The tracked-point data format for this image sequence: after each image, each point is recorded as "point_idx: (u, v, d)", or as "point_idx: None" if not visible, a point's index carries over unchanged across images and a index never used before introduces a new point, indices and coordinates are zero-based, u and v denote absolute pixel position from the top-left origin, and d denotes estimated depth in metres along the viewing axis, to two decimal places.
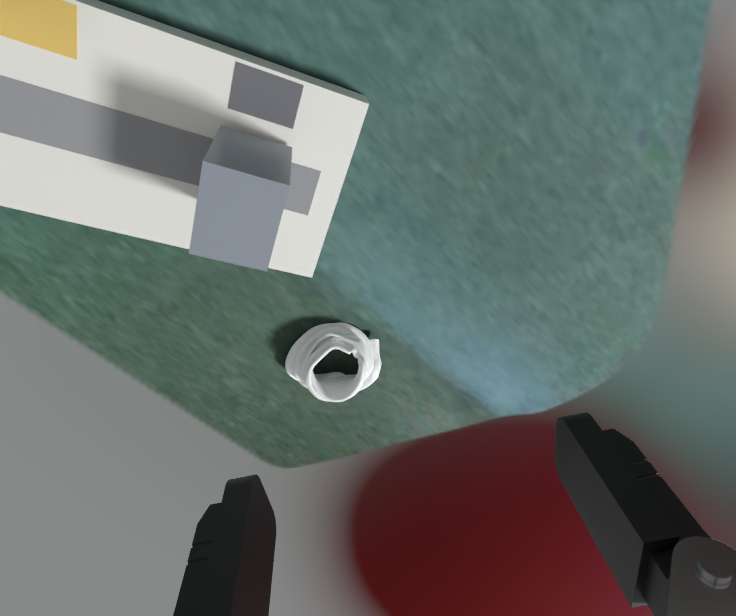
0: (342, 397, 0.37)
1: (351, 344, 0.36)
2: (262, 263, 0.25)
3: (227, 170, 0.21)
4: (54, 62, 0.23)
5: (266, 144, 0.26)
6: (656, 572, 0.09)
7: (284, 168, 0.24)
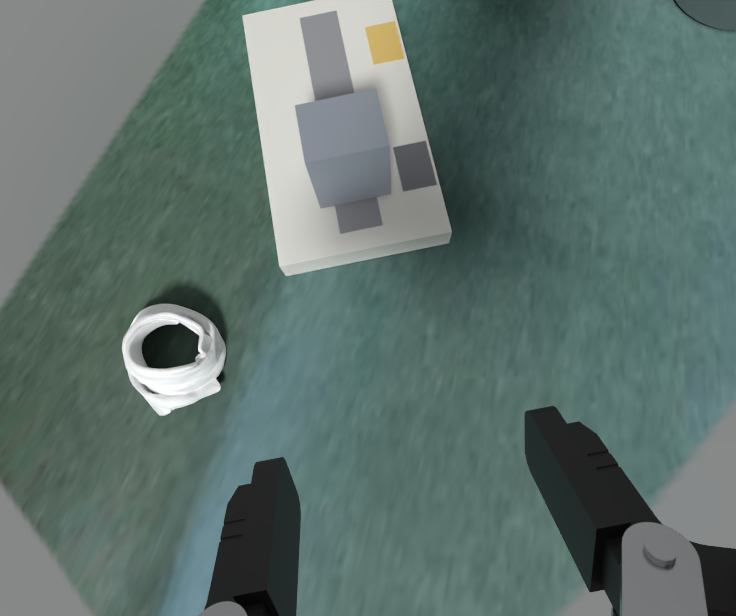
0: (135, 362, 0.29)
1: (209, 349, 0.31)
2: (310, 156, 0.27)
3: (377, 104, 0.28)
4: (364, 55, 0.36)
5: None
6: (609, 557, 0.09)
7: None
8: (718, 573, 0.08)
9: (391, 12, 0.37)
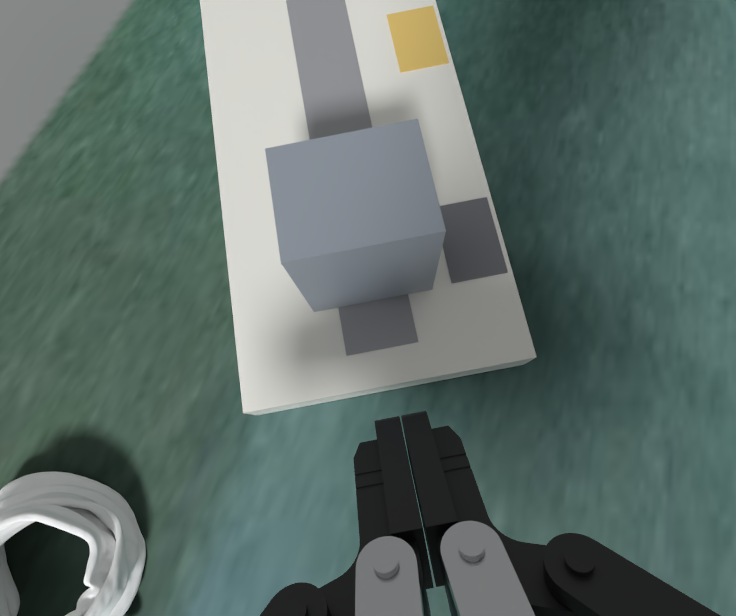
0: None
1: (107, 576, 0.17)
2: (293, 250, 0.14)
3: (421, 148, 0.15)
4: (386, 57, 0.23)
5: None
6: (440, 553, 0.10)
7: None
8: (526, 568, 0.09)
9: None
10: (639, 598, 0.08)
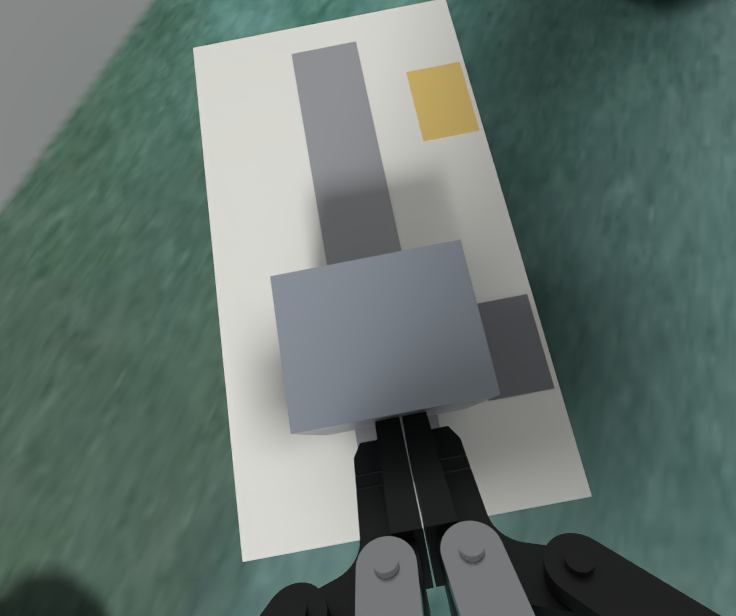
0: None
1: None
2: (306, 416, 0.11)
3: (465, 280, 0.12)
4: (407, 123, 0.20)
5: None
6: (440, 553, 0.10)
7: None
8: (526, 568, 0.09)
9: (452, 46, 0.21)
10: (639, 598, 0.08)
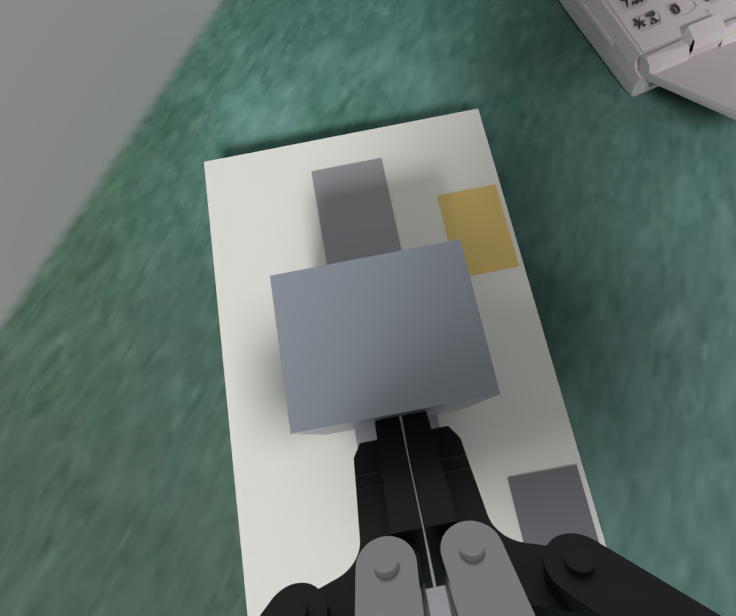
0: None
1: None
2: (306, 416, 0.11)
3: (465, 280, 0.12)
4: None
5: None
6: (440, 553, 0.10)
7: None
8: (526, 568, 0.09)
9: (487, 165, 0.19)
10: (639, 598, 0.08)
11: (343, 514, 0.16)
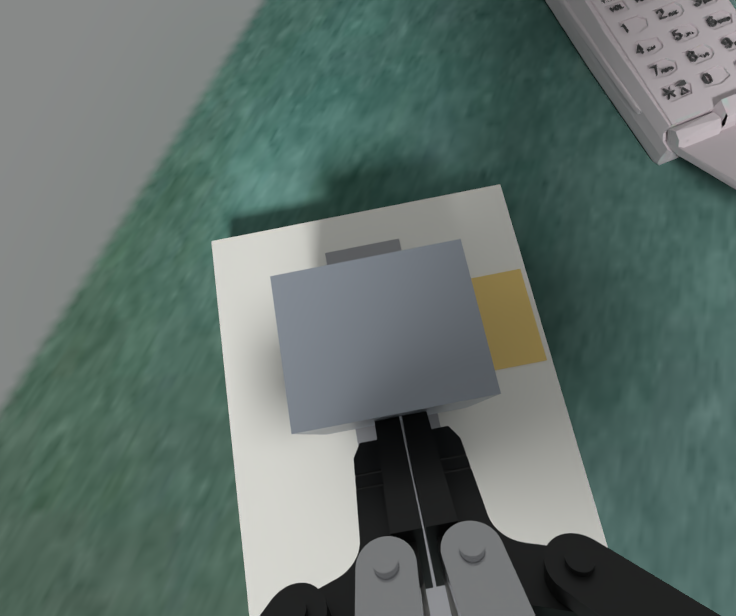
0: None
1: None
2: (306, 416, 0.11)
3: (465, 279, 0.12)
4: None
5: None
6: (440, 553, 0.10)
7: None
8: (526, 568, 0.09)
9: (511, 247, 0.18)
10: (639, 598, 0.08)
11: None
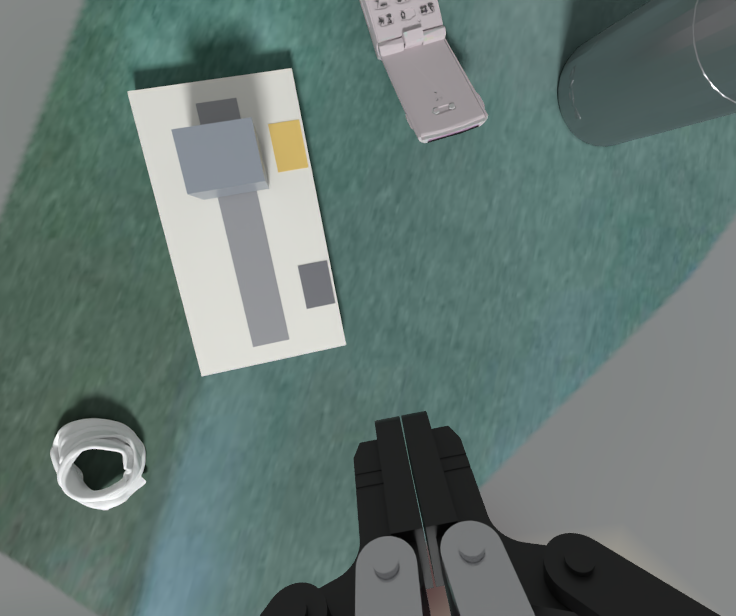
0: (73, 493, 0.36)
1: (133, 464, 0.38)
2: (192, 187, 0.30)
3: (253, 135, 0.30)
4: (269, 159, 0.36)
5: (264, 168, 0.35)
6: (440, 553, 0.10)
7: (265, 179, 0.32)
8: (526, 568, 0.09)
9: (295, 106, 0.36)
10: (639, 598, 0.08)
11: (226, 282, 0.37)
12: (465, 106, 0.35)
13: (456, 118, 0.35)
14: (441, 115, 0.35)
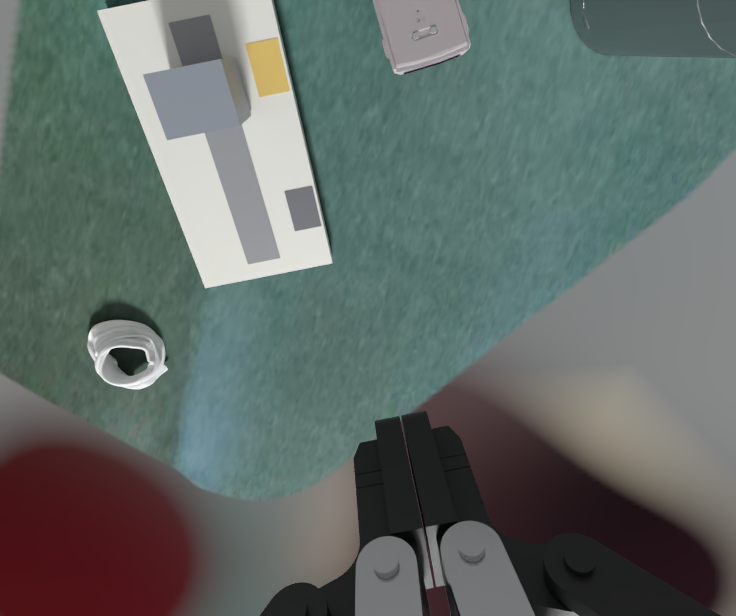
0: (110, 380, 0.45)
1: (155, 357, 0.46)
2: (171, 133, 0.31)
3: (224, 78, 0.30)
4: (249, 83, 0.35)
5: (244, 96, 0.35)
6: (440, 553, 0.10)
7: (243, 116, 0.33)
8: (526, 568, 0.09)
9: (272, 23, 0.34)
10: (639, 598, 0.08)
11: (218, 206, 0.40)
12: (448, 30, 0.32)
13: (436, 46, 0.32)
14: (421, 41, 0.33)
